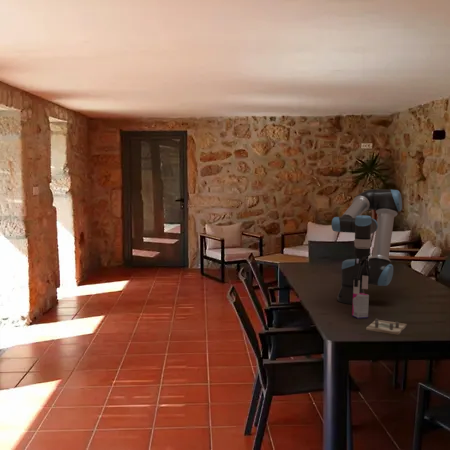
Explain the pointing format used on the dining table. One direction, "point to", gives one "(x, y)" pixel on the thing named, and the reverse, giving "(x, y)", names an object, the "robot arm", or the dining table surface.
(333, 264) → the dining table surface
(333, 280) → the dining table surface
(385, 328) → the plate
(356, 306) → the supplement box
